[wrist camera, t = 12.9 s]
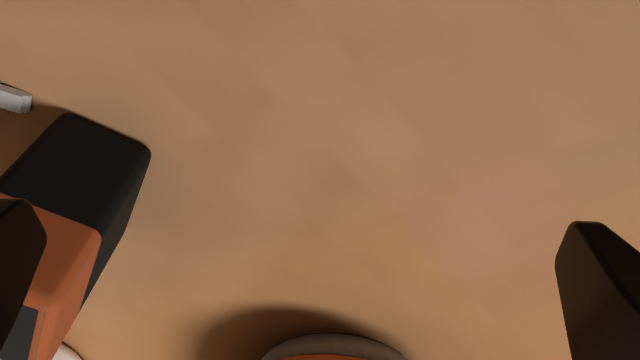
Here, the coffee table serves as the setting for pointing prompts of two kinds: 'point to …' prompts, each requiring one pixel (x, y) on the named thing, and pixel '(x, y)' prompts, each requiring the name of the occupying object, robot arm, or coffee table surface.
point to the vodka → (65, 353)
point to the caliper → (14, 99)
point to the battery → (70, 222)
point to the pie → (332, 349)
